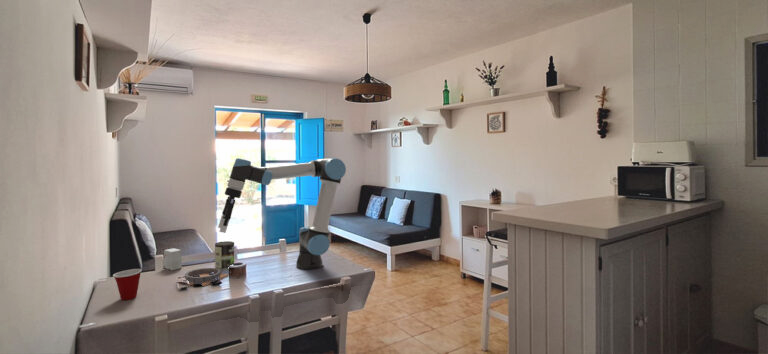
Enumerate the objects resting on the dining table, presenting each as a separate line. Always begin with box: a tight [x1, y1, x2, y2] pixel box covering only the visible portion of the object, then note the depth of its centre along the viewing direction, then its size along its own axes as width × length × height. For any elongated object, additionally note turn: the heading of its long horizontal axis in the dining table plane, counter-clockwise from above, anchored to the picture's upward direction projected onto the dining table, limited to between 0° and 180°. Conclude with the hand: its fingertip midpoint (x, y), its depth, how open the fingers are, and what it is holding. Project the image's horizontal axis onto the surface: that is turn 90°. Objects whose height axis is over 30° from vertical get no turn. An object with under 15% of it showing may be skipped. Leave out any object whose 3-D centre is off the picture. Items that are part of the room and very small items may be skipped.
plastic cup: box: [112, 268, 143, 301], centre depth 171 cm, size 11×11×12 cm
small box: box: [163, 248, 183, 271], centre depth 216 cm, size 8×6×10 cm
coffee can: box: [214, 240, 235, 271], centre depth 219 cm, size 10×10×14 cm
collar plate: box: [176, 267, 229, 287], centre depth 198 cm, size 17×17×4 cm
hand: (221, 230), depth 189 cm, fingers open, 13 cm apart
